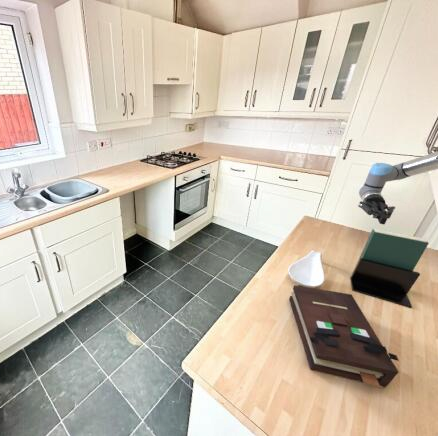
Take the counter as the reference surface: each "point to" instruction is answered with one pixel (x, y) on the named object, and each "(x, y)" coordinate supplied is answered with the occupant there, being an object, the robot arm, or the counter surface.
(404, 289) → the bookend
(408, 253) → the book
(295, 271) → the spoon rest
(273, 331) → the counter surface
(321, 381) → the counter surface
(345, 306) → the decorative book
